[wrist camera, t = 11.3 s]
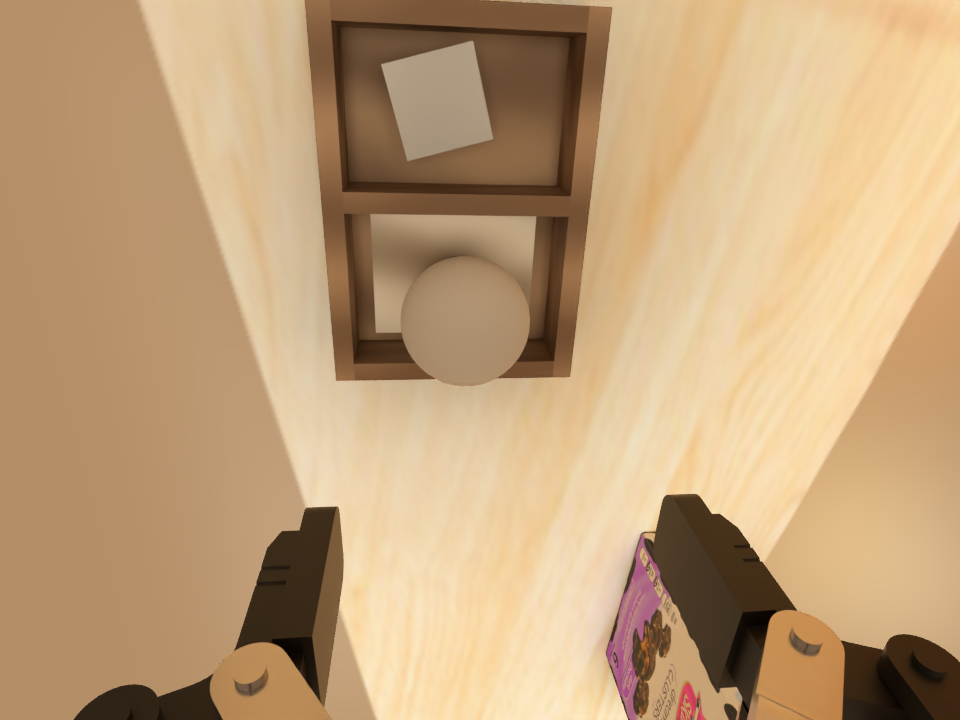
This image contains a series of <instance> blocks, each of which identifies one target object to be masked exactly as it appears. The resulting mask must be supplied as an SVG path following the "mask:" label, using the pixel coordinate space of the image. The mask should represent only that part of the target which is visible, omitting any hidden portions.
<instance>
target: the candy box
mask: <svg viewBox="0 0 960 720" xmlns="http://www.w3.org/2000/svg"><path fill="white" fill-rule="evenodd" d="M654 538H655V533H644V534H642V536H641V540H640V542H639V545H638V548H637V552H636V555H635V559H634V563H633V566H632V569H631V572H630V575H629V579H628V583H627V586H626V589H625V592H624V596H623V599H622V602H621V606H620V610H619V613H618V616H617V619H616V623H615V626H614V629H613V633H612V636H611V640H610V642H609V646H608V649H607V653H606V656H607V658H608V661H609V665H610V667H611V670H612V673H613V676H614V679H615V682H616V685H617V688H618V691H619V694H620V697H621V700H622V703H623V706H624V709H625V712H626V715H627V717H628V720H736V717H737V712H738V707H739V704H740V701H741V699H742V696H741V694H740V693H739V691H738V689H737V687H731V688H718V689H717V687H716V685H715V683H714V681H713V679H712V677H711V675H710V673H709V671H708V669H707V667H706V665H705V663H704V660H703V658H702V656H701V654H700V652H699V650H698V648H697V646H696V644H695V642H694V640H693V638H692V636H691V634H690V632H689V630H688V628H687V626H686V624H685V622H684V620H683V618H682V616H681V614H680V612H679V610H678V608H677V606H676V604H675V602H674V600H673V598H672V596H671V594H670V592H669V590H668V588H667V586H666V584H665V582H664V580H663V578H662V576H661V574H660V572H659V569H658V567H657V565H656V562H655V557H654V549H653V545H654Z"/></svg>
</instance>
